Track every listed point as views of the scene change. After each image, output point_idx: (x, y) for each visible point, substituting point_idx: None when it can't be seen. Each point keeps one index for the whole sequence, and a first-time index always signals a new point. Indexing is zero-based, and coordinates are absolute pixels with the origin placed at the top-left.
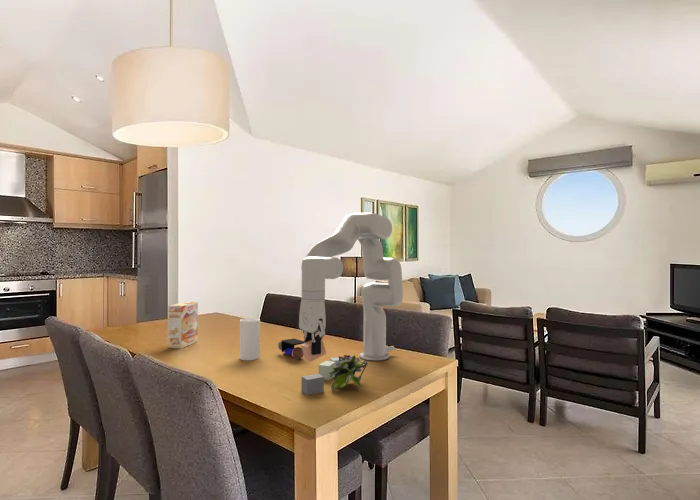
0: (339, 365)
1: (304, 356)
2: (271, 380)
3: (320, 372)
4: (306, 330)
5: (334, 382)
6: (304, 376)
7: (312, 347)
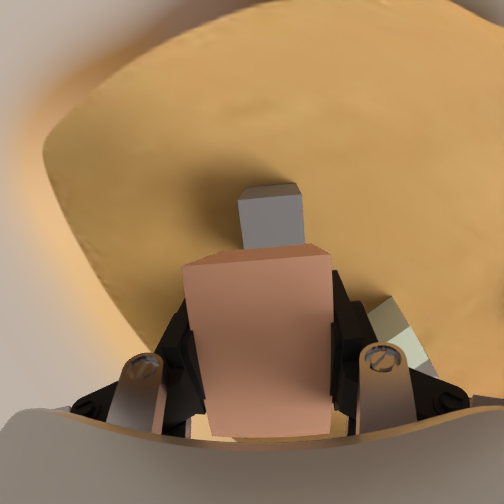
0: None
1: (307, 245)
2: (459, 142)
3: (393, 313)
4: (158, 451)
5: None
6: (295, 208)
7: (176, 315)
